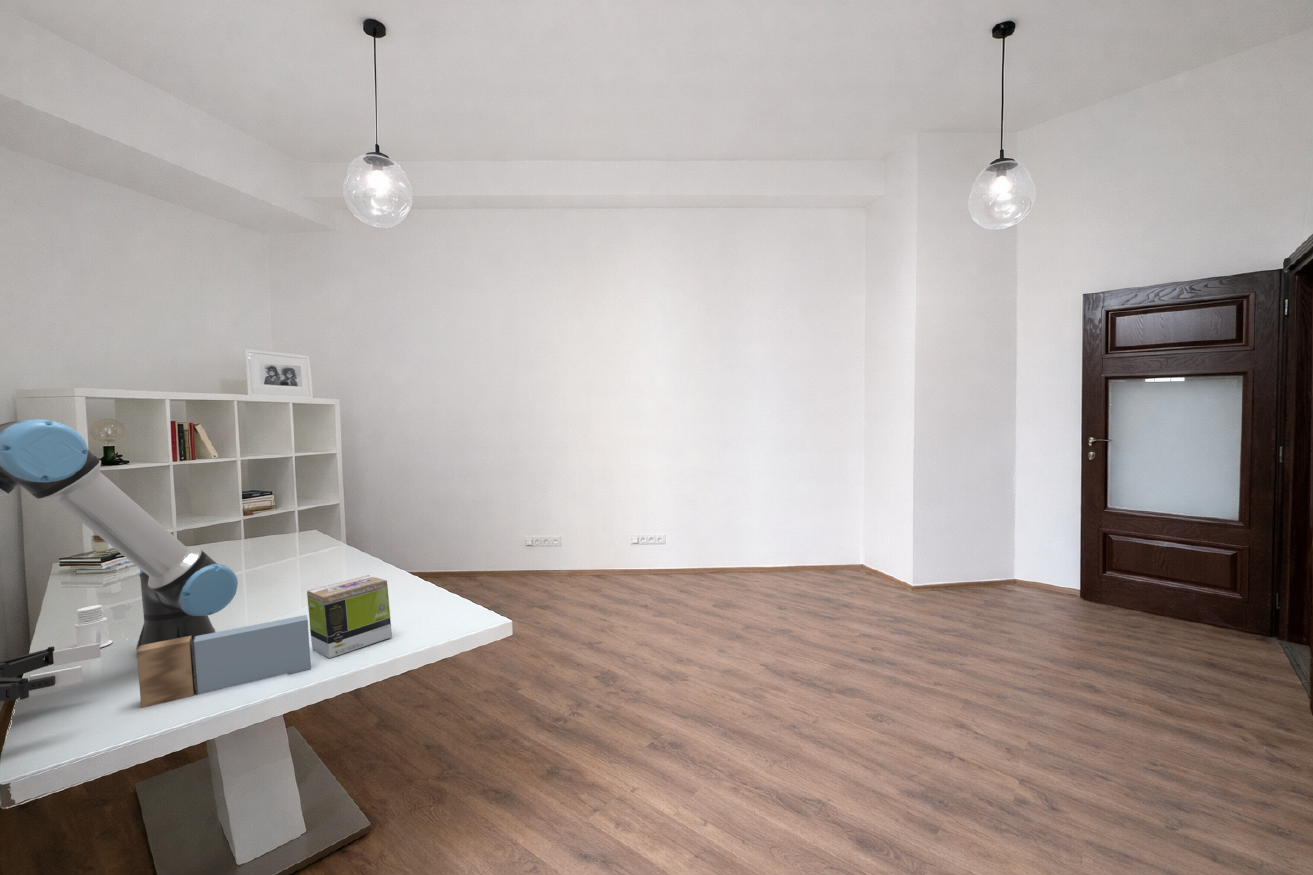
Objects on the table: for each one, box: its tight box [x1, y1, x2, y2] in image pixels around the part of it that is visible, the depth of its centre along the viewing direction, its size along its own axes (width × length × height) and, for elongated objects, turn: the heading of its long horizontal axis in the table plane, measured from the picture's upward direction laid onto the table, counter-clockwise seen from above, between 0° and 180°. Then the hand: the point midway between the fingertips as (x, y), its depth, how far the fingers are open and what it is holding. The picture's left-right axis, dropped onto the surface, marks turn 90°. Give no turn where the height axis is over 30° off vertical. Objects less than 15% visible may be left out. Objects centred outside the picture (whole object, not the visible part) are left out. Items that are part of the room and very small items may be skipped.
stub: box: [136, 636, 196, 709], centre depth 118 cm, size 8×4×11 cm, turn 124°
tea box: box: [306, 574, 393, 659], centre depth 143 cm, size 15×10×15 cm
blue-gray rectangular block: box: [192, 614, 312, 696], centre depth 126 cm, size 20×4×11 cm, turn 124°
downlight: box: [74, 604, 114, 649], centre depth 148 cm, size 8×7×10 cm
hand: (91, 661), depth 112 cm, fingers open, 13 cm apart
